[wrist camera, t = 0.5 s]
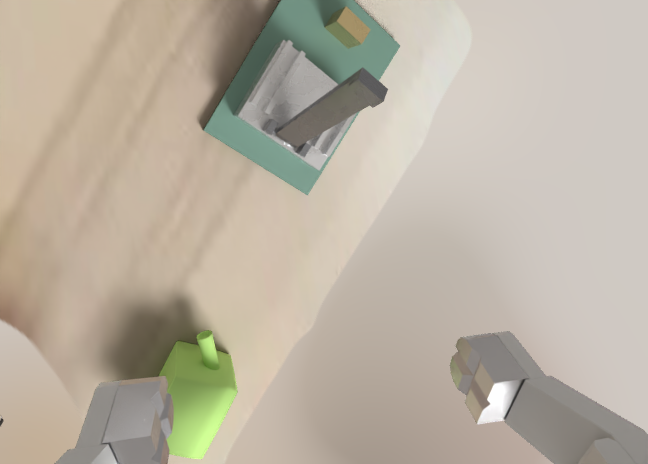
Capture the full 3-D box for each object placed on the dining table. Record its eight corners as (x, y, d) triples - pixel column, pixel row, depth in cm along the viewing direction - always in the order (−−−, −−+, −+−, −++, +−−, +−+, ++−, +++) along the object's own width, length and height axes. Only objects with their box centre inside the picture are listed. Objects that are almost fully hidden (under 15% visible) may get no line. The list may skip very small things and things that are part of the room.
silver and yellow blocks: (309, 166, 53) (324, 172, 48) (233, 115, 48) (240, 116, 43) (378, 55, 52) (400, 49, 47) (307, -10, 47) (324, -24, 42)
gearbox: (180, 306, 55) (179, 340, 46) (244, 328, 59) (254, 363, 50) (125, 415, 56) (114, 467, 47) (191, 428, 60) (191, 479, 51)
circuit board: (304, 193, 56) (307, 195, 55) (203, 130, 48) (203, 130, 47) (395, 47, 54) (400, 45, 53) (304, -41, 47) (307, -45, 46)
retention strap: (296, 143, 48) (292, 153, 47) (276, 129, 46) (271, 139, 46) (388, 88, 34) (383, 101, 33) (363, 66, 33) (357, 79, 32)
